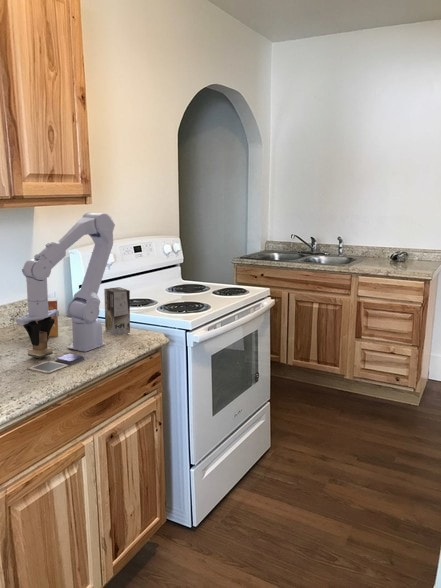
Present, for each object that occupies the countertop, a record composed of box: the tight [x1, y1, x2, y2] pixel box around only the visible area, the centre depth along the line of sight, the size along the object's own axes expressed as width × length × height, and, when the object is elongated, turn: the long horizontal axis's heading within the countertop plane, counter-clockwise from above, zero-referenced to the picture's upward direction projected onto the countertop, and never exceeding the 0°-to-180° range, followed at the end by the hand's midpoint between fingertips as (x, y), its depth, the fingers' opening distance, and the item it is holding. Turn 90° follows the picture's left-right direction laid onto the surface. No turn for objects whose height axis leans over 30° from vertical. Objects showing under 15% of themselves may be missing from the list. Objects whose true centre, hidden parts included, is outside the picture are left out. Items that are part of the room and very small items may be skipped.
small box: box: [36, 297, 59, 338], centre depth 176 cm, size 8×6×13 cm
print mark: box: [27, 360, 70, 375], centre depth 142 cm, size 8×8×1 cm
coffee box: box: [103, 286, 131, 337], centre depth 181 cm, size 9×6×16 cm
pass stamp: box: [27, 331, 54, 359], centre depth 150 cm, size 5×5×7 cm
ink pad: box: [54, 353, 86, 366], centre depth 148 cm, size 6×6×1 cm
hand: (39, 343), depth 150 cm, fingers closed on pass stamp, 3 cm apart
